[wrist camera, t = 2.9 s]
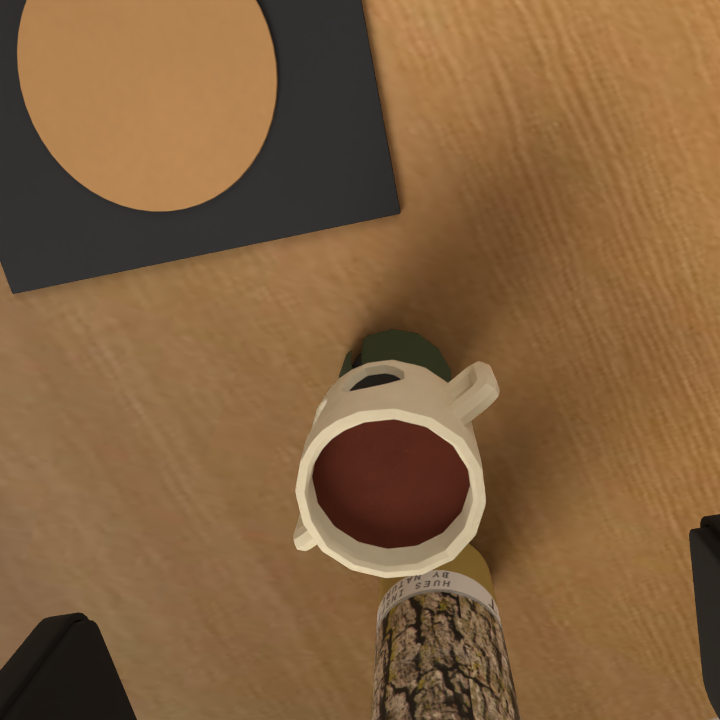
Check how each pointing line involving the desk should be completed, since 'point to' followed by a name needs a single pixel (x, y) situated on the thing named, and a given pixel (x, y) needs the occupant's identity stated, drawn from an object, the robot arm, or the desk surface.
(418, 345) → the character mug
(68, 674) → the robot arm
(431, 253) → the desk surface
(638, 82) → the desk surface
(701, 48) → the desk surface
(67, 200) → the desk mat
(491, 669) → the paper tube
